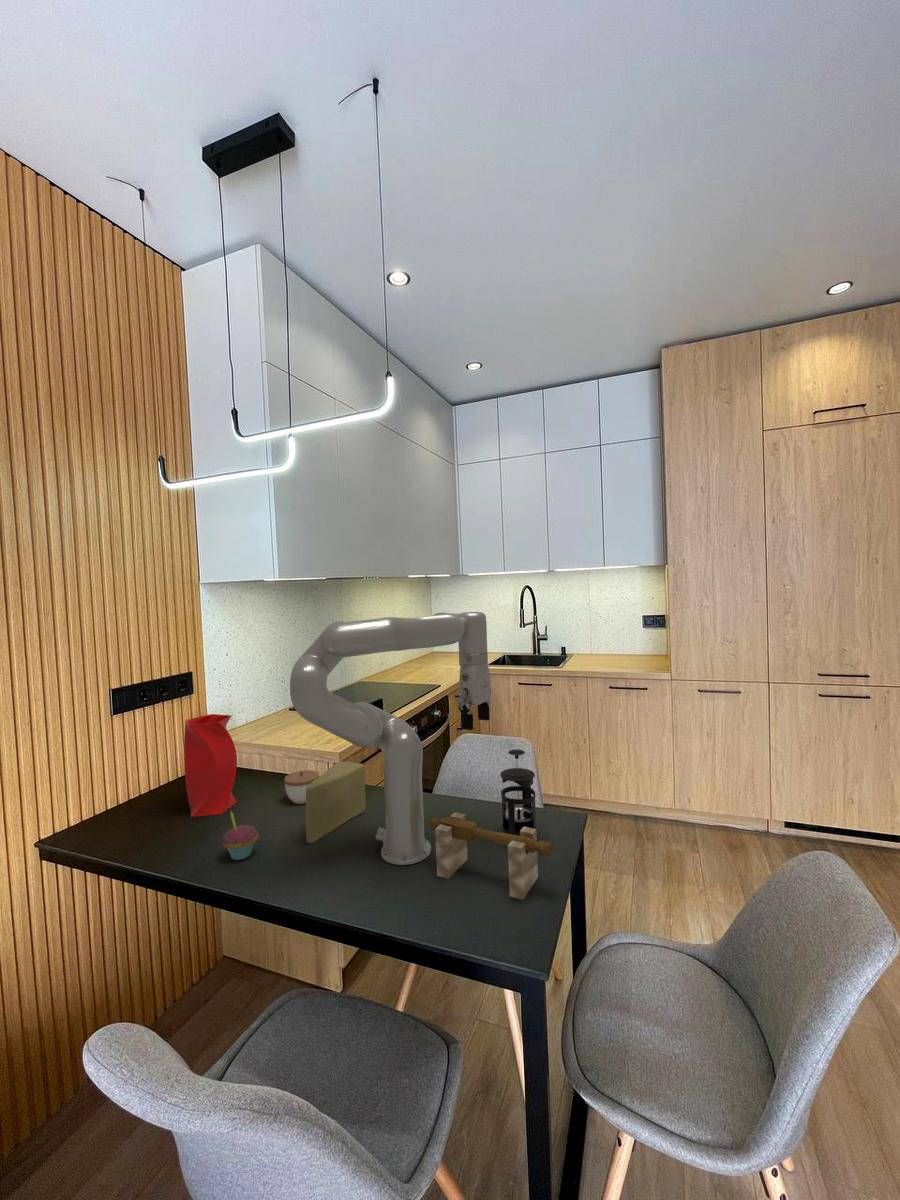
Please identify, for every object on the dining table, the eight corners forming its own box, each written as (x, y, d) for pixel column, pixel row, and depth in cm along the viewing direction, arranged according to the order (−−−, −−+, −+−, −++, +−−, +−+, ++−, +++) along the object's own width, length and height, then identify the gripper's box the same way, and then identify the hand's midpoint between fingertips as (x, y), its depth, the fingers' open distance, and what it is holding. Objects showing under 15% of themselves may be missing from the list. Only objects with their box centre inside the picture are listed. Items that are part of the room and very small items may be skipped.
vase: (244, 804, 162) (240, 716, 161) (201, 822, 149) (197, 728, 149) (216, 795, 170) (212, 712, 169) (173, 812, 158) (169, 722, 157)
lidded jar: (314, 806, 158) (313, 776, 158) (280, 807, 158) (279, 777, 158) (323, 792, 168) (322, 764, 168) (291, 793, 169) (290, 765, 168)
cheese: (324, 847, 132) (321, 790, 132) (293, 841, 136) (290, 786, 136) (367, 811, 153) (365, 762, 153) (340, 807, 156) (337, 759, 156)
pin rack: (437, 875, 117) (435, 828, 116) (456, 856, 125) (454, 812, 125) (523, 900, 106) (521, 848, 106) (538, 877, 115) (536, 829, 114)
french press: (527, 851, 126) (524, 759, 125) (494, 842, 131) (490, 754, 131) (545, 831, 136) (542, 746, 135) (514, 823, 141) (511, 741, 140)
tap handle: (547, 845, 107) (426, 818, 121) (547, 860, 107) (426, 831, 122) (551, 839, 110) (432, 813, 124) (552, 853, 110) (433, 826, 124)
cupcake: (224, 867, 124) (221, 819, 124) (222, 852, 132) (219, 806, 131) (261, 857, 128) (259, 810, 128) (257, 843, 136) (255, 798, 135)
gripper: (471, 664, 123) (473, 734, 123) (499, 655, 138) (502, 717, 138) (444, 663, 126) (447, 731, 127) (475, 654, 142) (477, 715, 142)
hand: (475, 724), depth 133 cm, fingers open, 9 cm apart
